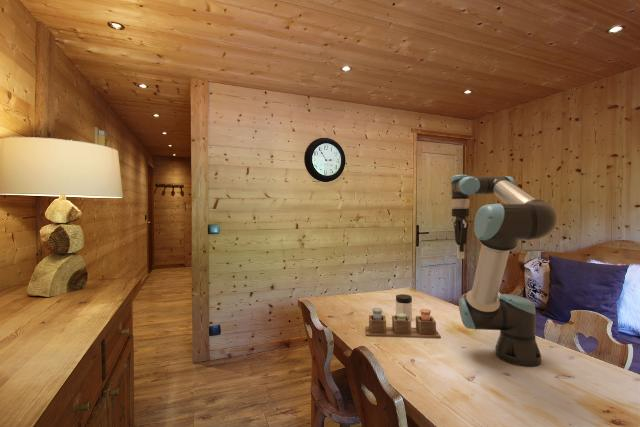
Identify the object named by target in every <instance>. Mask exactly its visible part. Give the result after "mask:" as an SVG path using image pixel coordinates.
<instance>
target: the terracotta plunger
mask: <svg viewBox="0 0 640 427" xmlns="http://www.w3.org/2000/svg"><path fill="white" fill-rule="evenodd" d="M419 312H420V316H421V321H430V316H431V312H432V310H431V309H430V308H429V309H428V308H421V309H420V310H419Z"/></svg>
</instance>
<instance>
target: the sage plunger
mask: <svg viewBox="0 0 640 427" xmlns="http://www.w3.org/2000/svg"><path fill="white" fill-rule="evenodd" d="M395 316H397V320H406V314H404V313H397V314H396V313H395Z"/></svg>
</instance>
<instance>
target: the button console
mask: <svg viewBox="0 0 640 427" xmlns="http://www.w3.org/2000/svg"><path fill="white" fill-rule="evenodd" d="M391 317H392V318H391V319H392V321H391V322H392V324H391V326H387V319H386V315H382V320H373V314H369V315H368V324H369V325H367V326H365V336H366V337H385V338H386V337H388V338H390V337H391V338H418V339H419V338H420V339H424V338H425V339H441V338H442V336H441V334H440V333H439V332H438V330H437V321H436V320H435V319H434V317H433V316H431V315H430V321H421V315H416V316H415V327H412V320H411V321H410V319H409V317H408V316H406V320H397V316H396V315H391Z"/></svg>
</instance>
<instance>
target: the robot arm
mask: <svg viewBox="0 0 640 427" xmlns="http://www.w3.org/2000/svg"><path fill="white" fill-rule="evenodd" d="M450 184H451V208H452V209H451V217H453V218H454V217H455V220H454V222H453V223H452V224H453V229H454V239H455V243H456V252H457V253H456V256H457V257H456V258H457V259H459V260H460V259H465V245H466V244H467V237H468V228H469V223H468V222H467V219H466V218H467V217H470V203H471V201H470V195H493V196H496V197H497V198H498V199H499V200H500V201H501V202H502V203H492V204H484V205H483V206H481V207H480V208H479V209H478V210H477V212H476V213H475V217H474V221H473V224H474V226H473V232H474V235H475V237H476V238H477V239H478V242H479V243H480V244H481V247H480V251H479V257H478V260H477V266H476V270H475V273H474V278H473V285H472V287H471V288H472V289H471V290H469V291H468V292H467V293H466V295H465V297H460V298H459V300H458V310H459V315H460V319H461V323H462V324H463V326H464V327H465V328H466V329H469V330H476V331H477V330H481V331H482V330H483V331H485V330H487V331H488V330H489V331H499V336H498V338H497V342H496V344H495V346H494V347H495V348H494V353H495V356H496V357H497V358H498V359H501V361H505V362H507V363H510V364H512V365H517V366H521V367H523V366H524V367H535V366H538V365H541V364H542V355H541V354H542V353H541V351H540V348H539V346H538V343H537V341H536V340H537V339H536V322H537V321H536V317H537V316H536V315H537V311H536V305H535V303H534V302H533V301H532V300H530V299H528V298H526V297H522V296H518V295H514V294H508V293H502V294H500V295H499V292H500V288H501V284H502V282H503V277H504V274H505V270H506V266H507V262H508V259H509V255H510V252H511V251H513V250H515V249H516V248H517V246H518V243H519V241H523V240H524V241H527V240H528V241H529V240H533V241H534V240H538V239H542V238H544V237H546V236H548V235H549V234H550V233H551V232H552V231H554V228H556V225H557V223H558V216H557V212H556V211H555V208H554V207H553V206H552V205H551V204H549V203H548V202H546V201H545V200H543V199H542V198H541V199H539V198H534V197H533V196H531V195H530V194H528V193H527V192H525V191H524V190H523V189H521V188H519V187H518V186H517V185H516V181H515V179H514V177H512V176H505V175H502V176H500V175H499V176H469V175H467V174H456V175H453V176H451V182H450ZM498 296H499V297H498Z"/></svg>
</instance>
